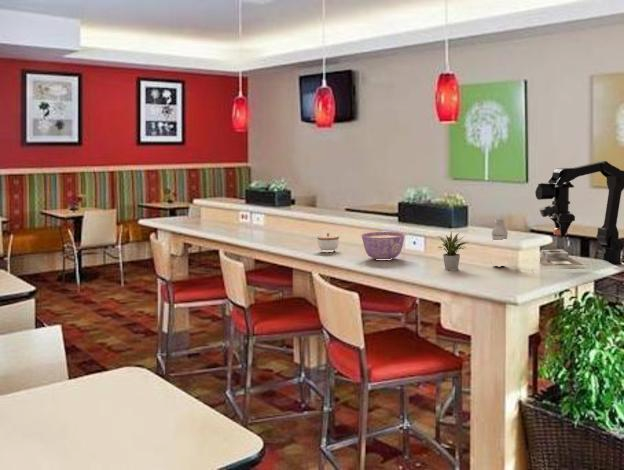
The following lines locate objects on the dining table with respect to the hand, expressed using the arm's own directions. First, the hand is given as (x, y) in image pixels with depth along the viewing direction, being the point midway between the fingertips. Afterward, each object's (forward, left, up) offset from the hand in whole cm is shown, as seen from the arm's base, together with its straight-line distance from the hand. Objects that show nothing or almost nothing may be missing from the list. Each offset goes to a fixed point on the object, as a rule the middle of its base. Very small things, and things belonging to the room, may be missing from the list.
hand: (560, 235), depth 291 cm
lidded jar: (+99, -50, -13) cm, 112 cm away
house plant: (+46, +2, -13) cm, 48 cm away
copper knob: (0, 0, -5) cm, 5 cm away
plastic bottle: (+25, -1, -13) cm, 28 cm away
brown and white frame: (0, -4, -13) cm, 14 cm away
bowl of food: (+73, -25, -13) cm, 78 cm away
